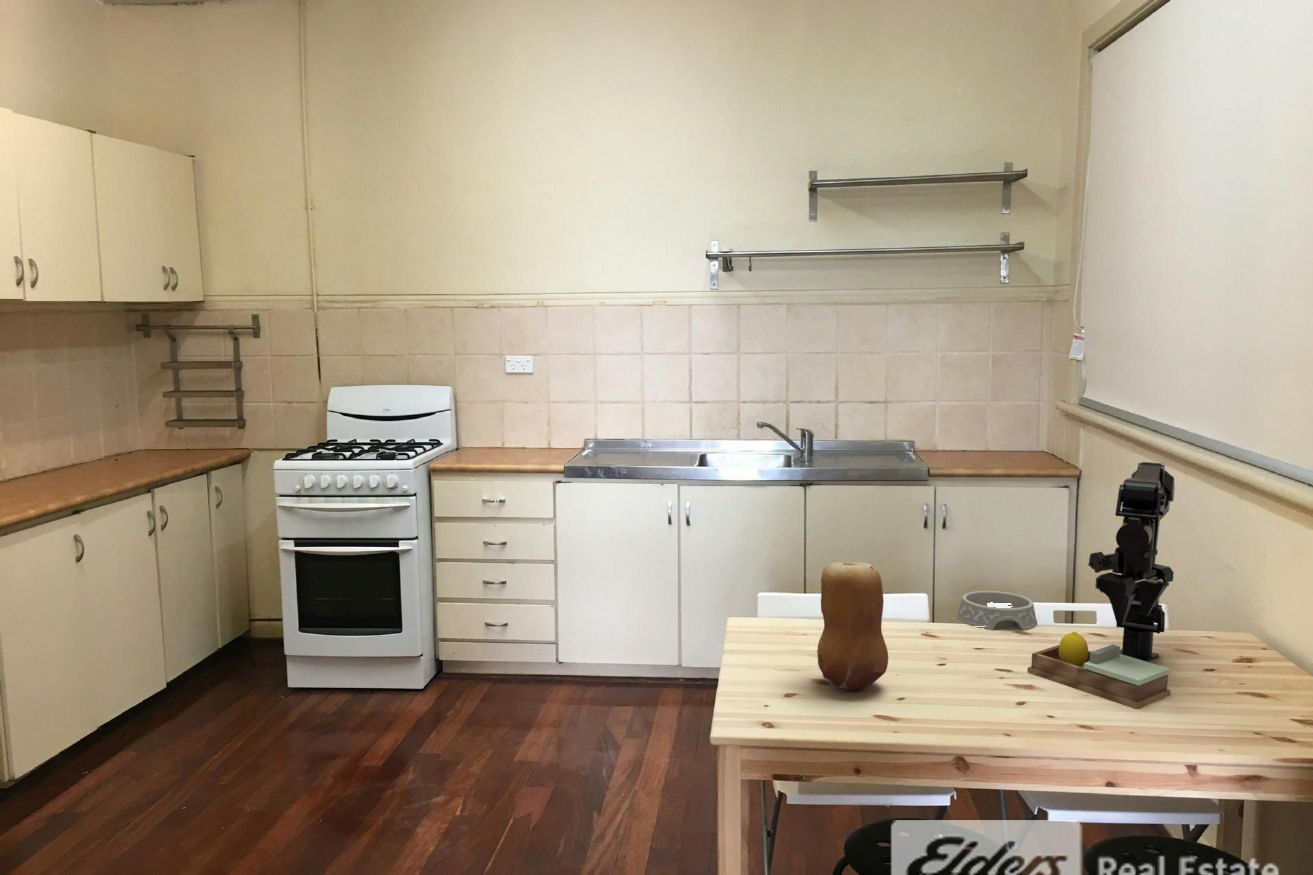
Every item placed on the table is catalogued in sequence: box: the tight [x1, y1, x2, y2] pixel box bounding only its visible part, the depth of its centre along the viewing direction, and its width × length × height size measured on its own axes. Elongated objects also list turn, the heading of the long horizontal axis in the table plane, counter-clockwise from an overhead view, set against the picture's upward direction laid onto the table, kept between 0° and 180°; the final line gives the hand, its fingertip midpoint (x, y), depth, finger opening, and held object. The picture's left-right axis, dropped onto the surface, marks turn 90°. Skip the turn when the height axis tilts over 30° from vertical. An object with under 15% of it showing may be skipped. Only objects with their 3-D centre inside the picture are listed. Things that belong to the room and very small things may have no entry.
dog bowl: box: [956, 590, 1038, 632], centre depth 237 cm, size 17×18×5 cm
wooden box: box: [1027, 644, 1172, 710], centre depth 196 cm, size 23×12×4 cm, turn 35°
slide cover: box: [1084, 644, 1171, 686], centre depth 191 cm, size 11×11×3 cm
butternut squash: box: [816, 561, 889, 692], centre depth 192 cm, size 14×13×25 cm
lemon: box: [1058, 631, 1089, 667], centre depth 201 cm, size 6×6×8 cm
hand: (1132, 619), depth 198 cm, fingers open, 9 cm apart
